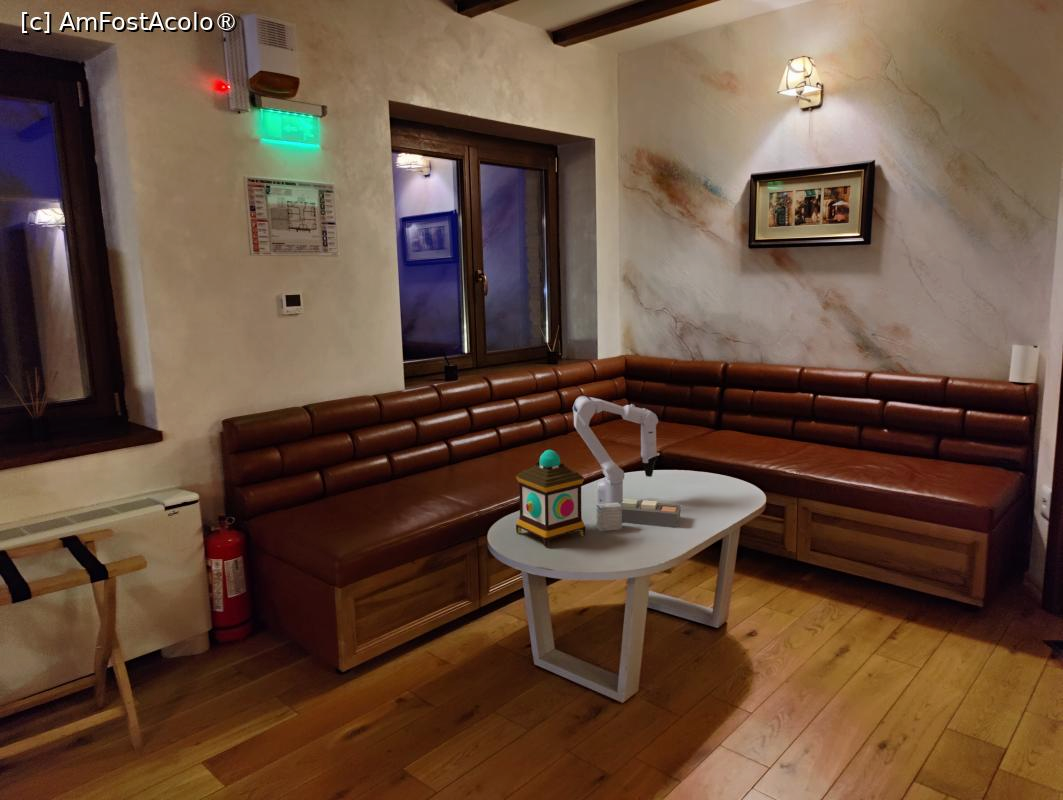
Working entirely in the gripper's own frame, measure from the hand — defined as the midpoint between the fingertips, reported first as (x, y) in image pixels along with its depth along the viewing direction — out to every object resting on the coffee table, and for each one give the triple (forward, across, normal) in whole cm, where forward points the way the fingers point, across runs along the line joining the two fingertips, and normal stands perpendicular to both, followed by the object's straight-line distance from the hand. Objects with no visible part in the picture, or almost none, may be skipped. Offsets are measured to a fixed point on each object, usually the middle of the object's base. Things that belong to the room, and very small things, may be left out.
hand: (649, 476), depth 282 cm
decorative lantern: (+9, -44, +26) cm, 52 cm away
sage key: (+6, -21, +3) cm, 22 cm away
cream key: (+6, -21, -4) cm, 22 cm away
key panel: (+10, -21, -4) cm, 23 cm away
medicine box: (+10, -33, +8) cm, 35 cm away
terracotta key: (+8, -20, -11) cm, 24 cm away
